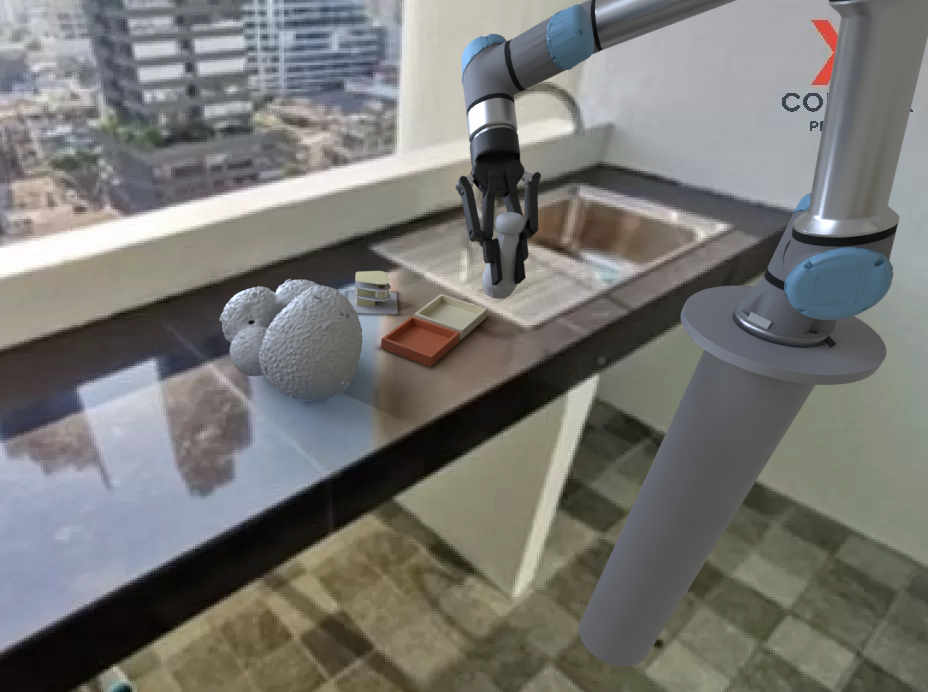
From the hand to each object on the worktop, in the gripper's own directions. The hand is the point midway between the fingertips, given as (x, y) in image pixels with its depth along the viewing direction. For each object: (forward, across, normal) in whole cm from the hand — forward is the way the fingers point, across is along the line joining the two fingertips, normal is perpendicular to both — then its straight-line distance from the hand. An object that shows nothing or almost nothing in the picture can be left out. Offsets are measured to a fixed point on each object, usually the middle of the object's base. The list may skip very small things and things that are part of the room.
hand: (508, 281), depth 94 cm
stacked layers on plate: (-6, +18, -28) cm, 34 cm away
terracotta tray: (+6, +11, -16) cm, 20 cm away
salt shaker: (0, 0, -6) cm, 6 cm away
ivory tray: (0, +4, -22) cm, 22 cm away
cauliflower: (+11, +34, -10) cm, 37 cm away
